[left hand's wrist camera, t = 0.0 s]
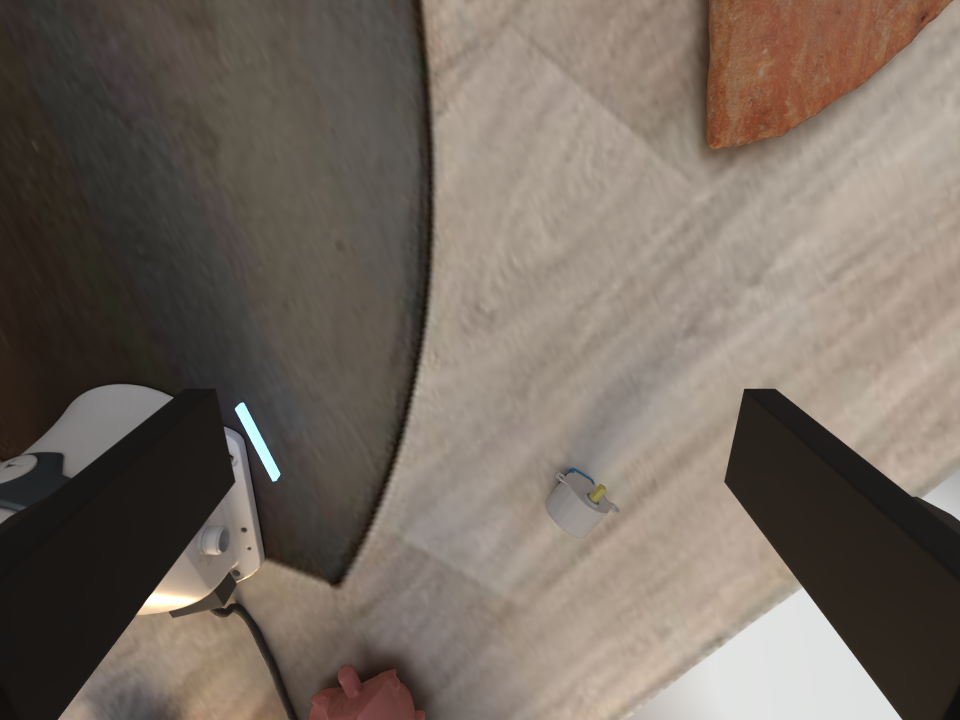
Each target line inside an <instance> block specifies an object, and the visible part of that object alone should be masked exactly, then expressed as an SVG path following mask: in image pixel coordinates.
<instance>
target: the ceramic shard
mask: <svg viewBox="0 0 960 720" xmlns="http://www.w3.org/2000/svg"><path fill="white" fill-rule="evenodd" d="M952 1H953V0H709V10H710V11H709V21H708V31H709V39H710V63H709V70H708V81H707V104H706V106H707V114H706V139H707V143H708V145H709V146H710V147H711V148H713V149H718V148H721V147H730V146H739V145H743V144H750V143H752V142H754V141H757V140H762V139H766V138H771V137H779V136H782V135H784V134H785V133H786V132H787V131H788V130H790V129H792V128H794V127H796V126H797V125H799V124H800V123H802V122H803V121H805V120H807V119H809V118H811V117H812V116H814V115H816V114H818V113H819V112H820V111H821V110H822V109H824V108H825V107H826V106H827V105H829V104H830V103H832V102H834V101H835V100H837V99H838V98H840V97H841V96H843V95H844V94H846V93H848V92H851V91H853V90H854V89H856V88H858V87H859V86H860V85H862V84H863V83H864V82H866V81H867V80H868V79H869V78H870V77H871V76H872V75H873V74H875V73H876V72H877V71H878V70H879V69H881V68H882V67H883V66H884V65H885V64H886V63H887V62H888V61H890V60H891V59H892V58H893V57H894V56H895V55H896V54H897V53H898V52H899V51H901V50H902V49H903V48H905V47H906V46H907V45H909V44H910V43H911V42H912V41H913V39H914V38H915V37H916V36H917V34H918V33H919V32H920V31H921V30H922V29H923V28H924V27H925V26H926V25H927V24H928V23H929V22H931V21H932V20H933V19H935V18H936V17H937V16H938V15H939V14H940V13H941V12H942V11H943V10H944V9H945V8H946V7H947V6H948V5H949V4H950V3H951V2H952Z"/></svg>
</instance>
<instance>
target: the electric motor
mask: <svg viewBox="0 0 960 720" xmlns="http://www.w3.org/2000/svg"><path fill="white" fill-rule="evenodd" d="M555 475H556V477H557V478H558V479H559V480H560V481H561V482H560V483H559V484H558V486H557V487H556V488H555V489H554V490H553V492H552V493H551V494H550V495H549V496H548V497H547V499H546V502H545V505H546V508H547V511H548V513H549V515H550V516H551V517H552V519H553V520H554V521H555V522H556V523H557V524H558V525H559V526H560V527H561V528H562V529H563V530H564V531H566V532H567V533H569V534H571V535H573V536H575V537H578V538H585V537H586V536H587V535H588V534H589V533H590V531H591V530H592V529H593V528H594V527H595V526H596V525H597V524H598V523H599V522H600V521H601V520H602V519H603V518H604V516H605V515H606V514H607V513H608V512H609V511H610V510H611V511H613V512H615V513H619V509H618V508H617V507H616V505H615V504H613V503H611V502H609V501H608V500H606V498H605V496H604V495H603V494H604V493H605V492H606V488H605V486H603V485H601V484H600V485H599V486H598V487H596V486H594V485H595V484H594V481H593V480H592V479H591V478H589V477H587V476H586V475H584V474H582V473H581V472H579V471H577V470H575V469H573V468H572V470H571V471H570V472H569V473H568V474H567V475H566V476H565V475H563V474H562V473H560V472H556V473H555ZM559 475H560V476H561V477H563V479H561V477H560V476H559ZM612 506H613V507H614V508H615V509H616V510H615V509H614V508H613V507H612Z"/></svg>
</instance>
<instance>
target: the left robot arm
mask: <svg viewBox="0 0 960 720" xmlns="http://www.w3.org/2000/svg"><path fill="white" fill-rule="evenodd" d="M235 482H236V481H235V476H234V472H233V467H232V462H231V458H230V453H229V449H228V444H227V439H226V435H225V430H224V425H223V421H222V416H221V411H220V407H219V402H218V397H217V393H216V389H184V390H183V391H181V392H180V393H179V394H178V395H176V396H175V397H174V398H173V399H171V400H170V401H169V402H168V403H166V404H165V405H164V406H162V407H161V408H160V409H159V410H157V411H156V412H155V413H154V414H152V415H151V416H150V417H149V418H147V419H146V420H145V421H143V422H142V423H141V424H140V425H138V426H137V427H136V428H135V429H133V430H132V431H131V432H130V433H128V434H127V435H126V436H124V437H123V438H122V439H121V440H119V441H118V442H117V443H116V444H114V445H113V446H112V447H111V448H109V449H108V450H107V451H105V452H104V453H103V454H102V455H100V456H99V457H98V458H97V459H95V460H94V461H93V462H92V463H90V464H89V465H88V466H87V467H85V468H84V469H83V470H81V471H80V472H79V473H78V474H76V475H75V476H74V477H73V478H71V479H70V480H69V481H68V482H66V483H65V484H64V485H62V486H61V487H60V488H59V489H57V490H56V491H55V492H54V493H52V494H51V495H50V496H49V497H47V498H46V499H42V500H40V501H38V502H36V503H34V504H32V505H30V506H29V507H27V508H25V509H23V510H21V511H19V512H17V513H15V514H13V515H11V516H10V517H8V518H7V519H6V520H4V521H3V522H2V523H0V720H58V718H59V717H60V716H61V714H62V713H63V712H64V710H65V709H66V708H67V706H68V705H69V704H70V702H71V701H72V700H73V698H74V697H75V696H76V694H77V693H78V692H79V690H80V689H81V688H82V686H83V685H84V684H85V682H86V681H87V680H88V678H89V677H90V676H91V674H92V673H93V672H94V670H95V669H96V668H97V666H98V665H99V664H100V662H101V661H102V660H103V658H104V657H105V656H106V654H107V653H108V652H109V650H110V649H111V648H112V646H113V645H114V644H115V642H116V641H117V640H118V638H119V637H120V636H121V634H122V633H123V632H124V630H125V629H126V628H127V626H128V625H129V624H130V622H131V621H132V620H133V618H134V617H135V616H136V614H137V613H138V612H139V610H140V609H141V608H142V606H143V605H144V604H145V602H146V601H147V600H148V598H149V597H150V596H151V594H152V593H153V592H154V590H155V589H156V588H157V586H158V585H159V584H160V582H161V581H162V580H163V578H164V577H165V576H166V574H167V573H168V572H169V570H170V569H171V568H172V566H173V565H174V564H175V562H176V561H177V560H178V558H179V557H180V556H181V554H182V553H183V552H184V550H185V549H186V547H187V546H188V545H189V543H190V542H191V541H192V539H193V538H194V537H195V535H196V534H197V533H198V531H199V530H200V529H201V527H202V526H203V525H204V523H205V522H206V521H207V519H208V518H209V517H210V515H211V514H212V513H213V511H214V510H215V509H216V507H217V506H218V505H219V503H220V502H221V501H222V499H223V498H224V497H225V495H226V494H227V493H228V491H229V490H230V489H231V487H232V486H233V485H234V483H235ZM724 482H725V483H726V485H727V486H728V487H729V489H730V490H731V491H732V493H733V494H734V495H735V497H736V498H737V499H738V501H739V502H740V503H741V505H742V506H743V507H744V509H745V510H746V511H747V513H748V514H749V515H750V517H751V518H752V519H753V521H754V522H755V523H756V525H757V526H758V527H759V529H760V530H761V531H762V533H763V534H764V535H765V537H766V538H767V539H768V541H769V542H770V543H771V545H772V546H773V548H774V549H775V550H776V552H777V553H778V554H779V556H780V557H781V558H782V560H783V561H784V562H785V564H786V565H787V566H788V568H789V569H790V570H791V572H792V573H793V574H794V576H795V577H796V578H797V580H798V581H799V582H800V584H801V585H802V586H803V588H804V589H805V590H806V592H807V593H808V594H809V596H810V597H811V598H812V599H813V601H814V602H815V603H816V605H817V606H818V608H819V609H820V610H821V612H822V613H823V614H824V616H825V617H826V618H827V620H828V621H829V622H830V624H831V625H832V626H833V628H834V629H835V630H836V632H837V633H838V634H839V636H840V637H841V638H842V640H843V641H844V642H845V644H846V645H847V646H848V648H849V649H850V650H851V652H852V653H853V654H854V656H855V657H856V658H857V660H858V661H859V662H860V664H861V665H862V666H863V668H864V669H865V670H866V672H867V673H868V674H869V676H870V677H871V678H872V680H873V681H874V682H875V684H876V685H877V686H878V688H879V689H880V690H881V692H882V693H883V694H884V696H885V697H886V698H887V700H888V701H889V702H890V704H891V705H892V706H893V708H894V709H895V710H896V712H897V713H898V714H899V716H900V717H901V718H902V720H960V521H959V520H958V519H956V518H955V517H954V516H952V515H951V514H949V513H947V512H945V511H943V510H941V509H940V508H938V507H936V506H934V505H932V504H930V503H928V502H926V501H924V500H922V499H920V498H918V497H911V496H910V495H909V494H908V493H906V492H905V491H904V490H903V489H901V488H900V487H899V486H898V485H896V484H895V483H894V482H892V481H891V480H890V479H889V478H887V477H886V476H885V475H884V474H882V473H881V472H880V471H879V470H877V469H876V468H875V467H873V466H872V465H871V464H870V463H868V462H867V461H866V460H865V459H863V458H862V457H861V456H860V455H858V454H857V453H856V452H855V451H853V450H852V449H851V448H849V447H848V446H847V445H846V444H844V443H843V442H842V441H841V440H839V439H838V438H837V437H836V436H834V435H833V434H832V433H830V432H829V431H828V430H827V429H825V428H824V427H823V426H822V425H820V424H819V423H818V422H817V421H815V420H814V419H813V418H811V417H810V416H809V415H808V414H806V413H805V412H804V411H803V410H801V409H800V408H799V407H798V406H796V405H795V404H794V403H792V402H791V401H790V400H789V399H787V398H786V397H785V396H784V395H782V394H781V393H780V392H779V391H777V390H776V389H744V393H743V397H742V402H741V407H740V411H739V416H738V421H737V425H736V430H735V435H734V439H733V444H732V449H731V453H730V458H729V462H728V467H727V472H726V476H725V481H724Z"/></svg>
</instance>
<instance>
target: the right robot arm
mask: <svg viewBox="0 0 960 720" xmlns="http://www.w3.org/2000/svg"><path fill="white" fill-rule="evenodd" d="M173 398H174V397H172V396H170V395H167V394H165V393H163V392H160V391H158V390H155V389H151V388H148V387H144V386H138V385H131V384H113V385H106V386H101V387H97V388H94V389H92V390H89V391H87V392H85V393H84V394H82V395H80V396H79V397H78V398H76V399H75V400H74V401H73V402H72V403H71V404H70V405H69V407H68V408H67V410H66V411H65V412H64V414H63V415H62V416H61V418H60V419H59V420H58V421H57V422H56V423H55V424H54V425H53V427H52V428H51V429H50V430H49V431H48V432H47V433H45V434H44V435H43V436H42V437H41V438H40V439H39V440H38V441H37V442H36V443H34V444H33V445H32V446H31V447H30V448H29V449H27V450H26V451H25V452H24V453H23V454H21V455H20V456H17V457H15V458H13V459H10V460H8V461H6V462H4V463H2V464H0V523H2V522H3V521H4V520H6V519H7V518H8V517H10V516H11V515H13V514H15V513H17V512H19V511H21V510H23V509H25V508H27V507H29V506H30V505H32V504H34V503H36V502H38V501H40V500H42V499H46V498H47V497H49V496H50V495H51V494H52V493H54V492H55V491H56V490H57V489H59V488H60V487H61V486H62V485H64V484H65V483H66V482H68V481H69V480H70V479H71V478H73V477H74V476H75V475H76V474H78V473H79V472H80V471H81V470H83V469H84V468H85V467H87V466H88V465H89V464H90V463H92V462H93V461H94V460H95V459H97V458H98V457H99V456H100V455H102V454H103V453H104V452H105V451H107V450H108V449H109V448H111V447H112V446H113V445H114V444H116V443H117V442H118V441H119V440H121V439H122V438H123V437H124V436H126V435H127V434H128V433H130V432H131V431H132V430H133V429H135V428H136V427H137V426H138V425H140V424H141V423H142V422H143V421H145V420H146V419H147V418H149V417H150V416H151V415H152V414H154V413H155V412H156V411H157V410H159V409H160V408H161V407H162V406H164V405H165V404H166V403H168V402H169V401H170V400H171V399H173ZM235 410H236V412H237V414H238V415H239V417H240V419H241V421H242V423H243V425H244V427H245V429H246V431H247V433H248V435H249V437H250V438H251V440H252V442H253V444H254V446H255V448H256V450H257V452H258V454H259V456H260V458H261V459H262V461H263V463H264V465H265V467H266V469H267V471H268V473H269V475H270V477H271V479H272V481H276V480H277V479H278V477H279V475H280V473H279V471H278V469H277V467H276V465H275V463H274V461H273V459H272V457H271V455H270V453H269V451H268V449H267V447H266V445H265V444H264V442H263V440H262V438H261V436H260V434H259V432H258V430H257V428H256V426H255V424H254V422H253V420H252V418H251V416H250V414H249V412H248V410H247V408H246V407H245V405H244V403H240V404H239V405H238V406H237V407H236V408H235ZM224 430H225V435H226V439H227V444H228V449H229V453H230V454H231V455H232V456H233V457H230V458H231V462H232V467H233V472H234V476H235V481H236V482H235V483H234V485H233V486H232V487H231V489H230V490H229V491H228V493H227V494H226V495H225V497H224V498H223V499H222V501H221V502H220V503H219V505H218V506H217V507H216V509H215V510H214V511H213V513H212V514H211V515H210V517H209V518H208V519H207V521H206V522H205V523H204V525H203V526H202V527H201V529H200V530H199V531H198V533H197V534H196V535H195V537H194V538H193V539H192V541H191V542H190V543H189V545H188V546H187V547H186V549H185V550H184V552H183V553H182V554H181V556H180V557H179V558H178V560H177V561H176V562H175V564H174V565H173V566H172V568H171V569H170V570H169V572H168V573H167V574H166V576H165V577H164V578H163V580H162V581H161V582H160V584H159V585H158V586H157V588H156V589H155V590H154V592H153V593H152V594H151V596H150V597H149V598H148V600H147V601H146V602H145V604H144V605H143V606H142V608H141V609H140V610H139V612H138V613H137V614H136V615H145V614H154V613H161V612H167V611H169V613H170V614H171V616H172V617H173V618H175V617H180V616H184V615H189V614H193V613H197V612H202V611H206V610H210V611H211V612H212V613H213V614H215V615H216V616H219V617H227V616H229V615H230V614H231V613H232V612H234V613H236V614H238V615H239V616H241V617H242V618H243V620H244V621H245V622H246V624H247V625H248V627H249V629H250V631H251V633H252V635H253V637H254V639H255V641H256V643H257V645H258V647H259V649H260V652H261V653H262V655H263V657H264V659H265V661H266V663H267V665H268V667H269V670H270V672H271V675H272V678H273V680H274V683H275V686H276V689H277V692H278V694H279V697H280V699H281V702H282V704H283V706H284V709H285V711H286V713H287V716H288V718H289V720H298V719H297V717H296V714H295V712H294V710H293V707H292V705H291V703H290V700H289V698H288V695H287V693H286V690H285V688H284V685H283V682H282V679H281V676H280V673H279V670H278V668H277V665H276V663H275V661H274V659H273V656H272V655H271V653H270V651H269V649H268V647H267V645H266V643H265V640H264V638H263V636H262V634H261V632H260V630H259V628H258V626H257V625H256V623H255V622H254V620H253V619H252V618H251V616H250V615H249V614H248V612H247V611H246V610H245V609H244V608H243V607H242V606H240V605H238V604H236V603H234V604H230V605H229V606H228V607H227V608H226V609H224V608H222V607H224V606H225V604H226V602H227V601H228V599H229V597H230V595H231V594H232V592H233V590H234V588H235V586H236V585H237V583H236V582H239V581H241V580H243V579H245V578H247V577H249V576H250V575H252V574H253V573H255V572H256V571H257V570H258V569H259V568H260V567H261V565H262V564H263V562H264V560H265V555H264V549H263V543H262V538H261V532H260V526H259V521H258V515H257V509H256V504H255V498H254V492H253V487H252V481H251V475H250V470H249V464H248V458H247V452H246V447H245V442H244V439H243V438H242V436H241V435H240V434H238V433H237V432H235V431H234V430H232V429H229V428H227V427H224Z"/></svg>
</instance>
